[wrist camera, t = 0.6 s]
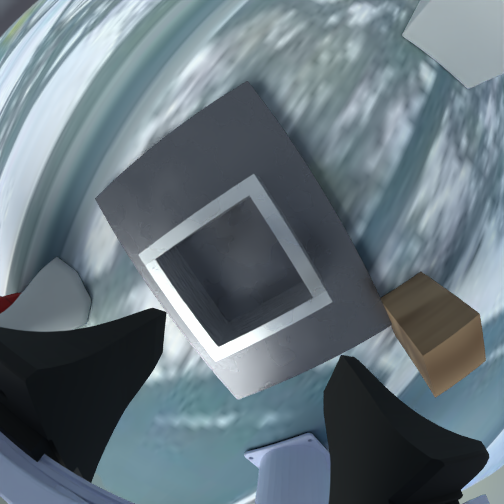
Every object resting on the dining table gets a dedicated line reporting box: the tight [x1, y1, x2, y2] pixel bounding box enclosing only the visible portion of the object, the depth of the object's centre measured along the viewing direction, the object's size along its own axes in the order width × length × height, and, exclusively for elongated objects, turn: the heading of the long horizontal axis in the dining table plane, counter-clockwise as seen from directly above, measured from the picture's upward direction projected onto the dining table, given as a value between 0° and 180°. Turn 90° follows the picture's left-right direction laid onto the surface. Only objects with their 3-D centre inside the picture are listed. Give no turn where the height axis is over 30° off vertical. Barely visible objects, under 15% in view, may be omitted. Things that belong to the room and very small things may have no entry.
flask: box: [0, 257, 92, 332], centre depth 18 cm, size 7×7×10 cm
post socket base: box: [95, 81, 392, 399], centre depth 17 cm, size 20×14×4 cm
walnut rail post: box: [381, 272, 486, 397], centre depth 15 cm, size 4×4×8 cm
